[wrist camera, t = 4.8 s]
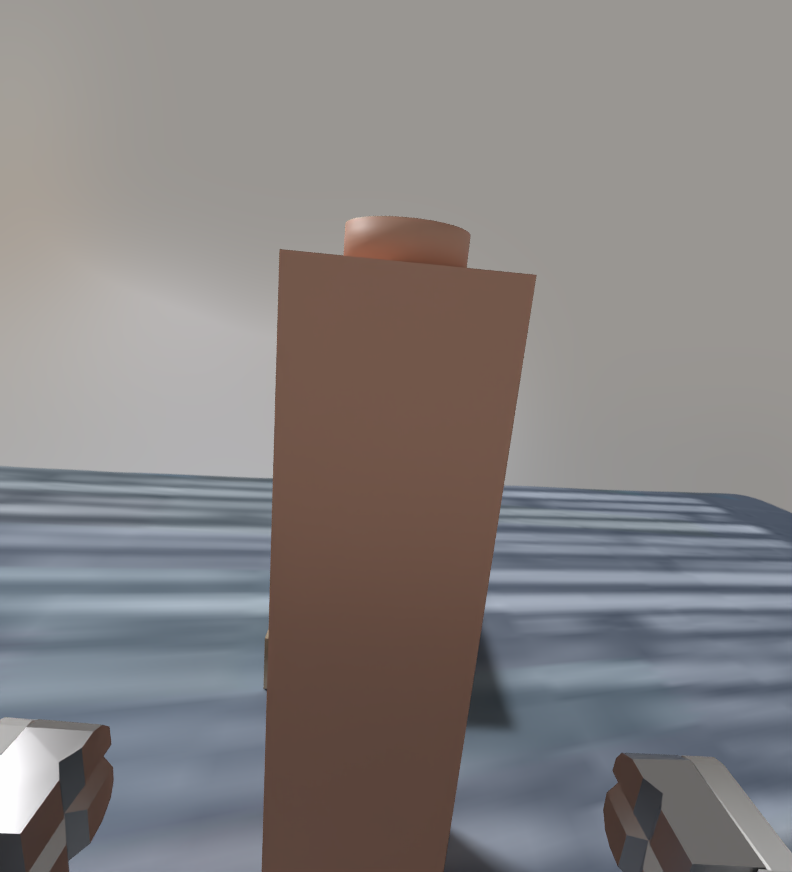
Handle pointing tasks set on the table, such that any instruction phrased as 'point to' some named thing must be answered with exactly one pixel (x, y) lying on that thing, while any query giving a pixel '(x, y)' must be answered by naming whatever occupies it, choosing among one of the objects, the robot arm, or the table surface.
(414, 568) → the pillar
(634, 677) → the table surface
